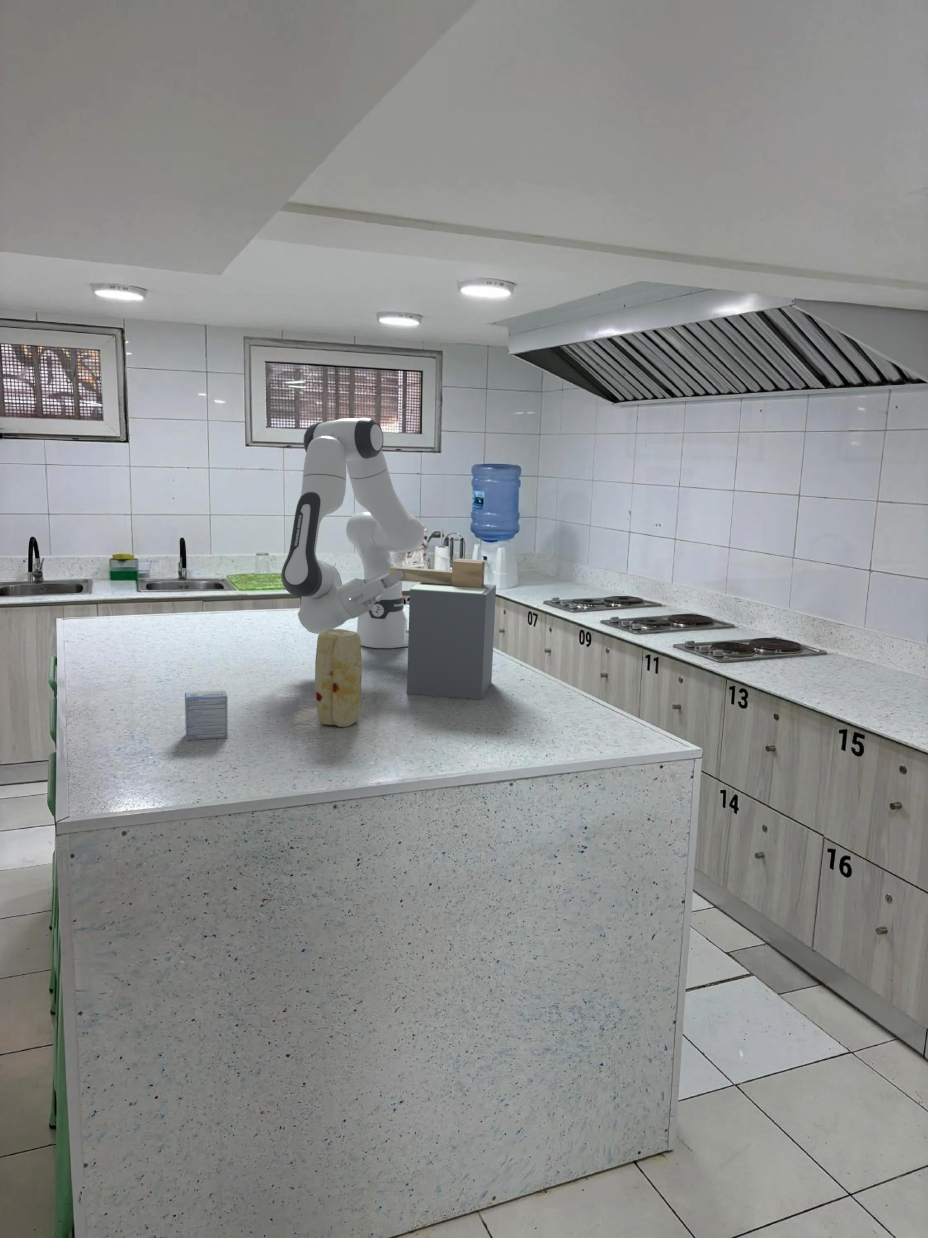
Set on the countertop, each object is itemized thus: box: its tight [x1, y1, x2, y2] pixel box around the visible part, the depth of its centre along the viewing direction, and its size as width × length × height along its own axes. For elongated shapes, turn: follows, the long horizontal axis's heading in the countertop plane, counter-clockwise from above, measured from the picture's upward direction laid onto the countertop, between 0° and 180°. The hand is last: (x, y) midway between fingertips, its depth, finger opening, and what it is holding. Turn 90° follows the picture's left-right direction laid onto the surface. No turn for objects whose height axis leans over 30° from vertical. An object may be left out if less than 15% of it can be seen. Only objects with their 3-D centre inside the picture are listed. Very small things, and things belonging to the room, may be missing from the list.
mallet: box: [389, 558, 486, 588], centre depth 217 cm, size 6×23×6 cm, turn 80°
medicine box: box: [184, 689, 229, 741], centre depth 172 cm, size 8×4×9 cm, turn 108°
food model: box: [314, 628, 363, 728], centre depth 182 cm, size 10×7×20 cm
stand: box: [406, 582, 497, 701], centre depth 214 cm, size 17×18×25 cm
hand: (405, 572), depth 218 cm, fingers closed on mallet, 3 cm apart
